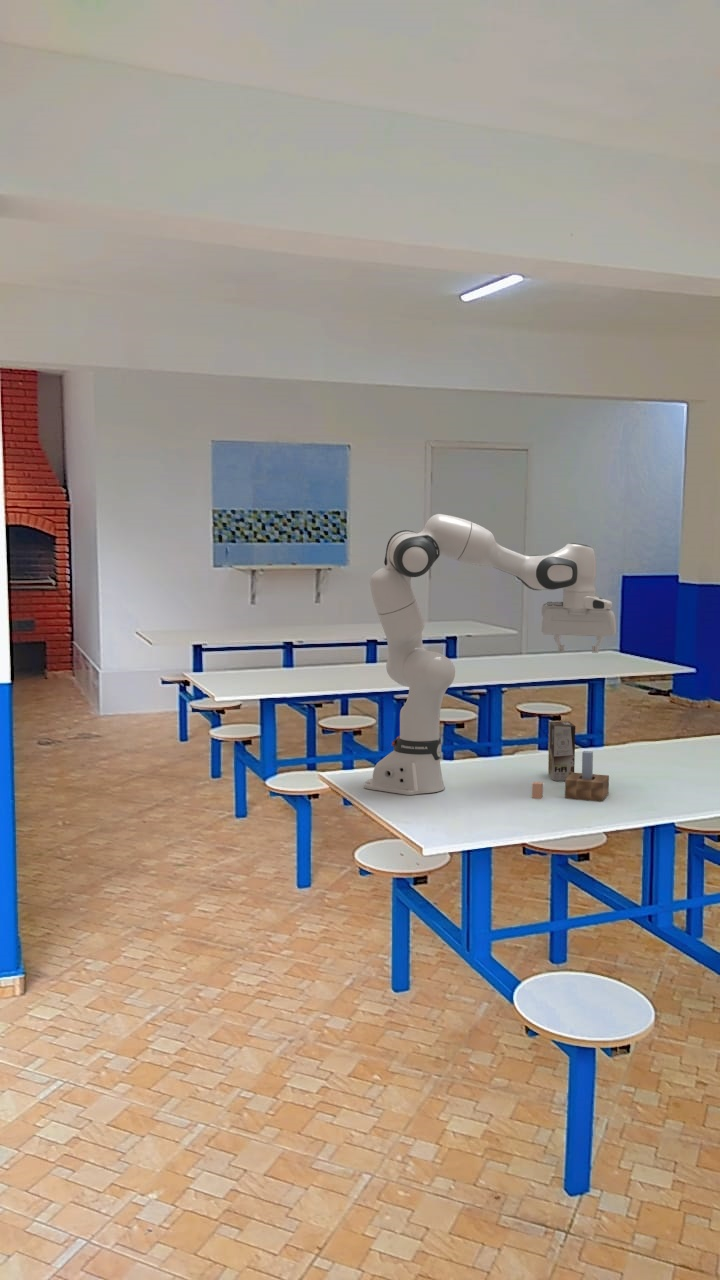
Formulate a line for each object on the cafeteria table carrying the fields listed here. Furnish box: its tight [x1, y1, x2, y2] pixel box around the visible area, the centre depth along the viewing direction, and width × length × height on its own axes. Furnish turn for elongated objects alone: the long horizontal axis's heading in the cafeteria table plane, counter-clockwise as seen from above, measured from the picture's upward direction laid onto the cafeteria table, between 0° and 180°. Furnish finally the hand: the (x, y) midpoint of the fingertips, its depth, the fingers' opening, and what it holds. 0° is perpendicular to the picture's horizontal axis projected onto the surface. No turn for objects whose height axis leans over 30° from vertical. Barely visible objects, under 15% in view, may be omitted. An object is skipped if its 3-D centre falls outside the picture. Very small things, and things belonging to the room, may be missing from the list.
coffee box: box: [547, 721, 576, 782], centre depth 295 cm, size 9×6×16 cm
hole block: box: [564, 772, 610, 803], centre depth 273 cm, size 10×10×5 cm
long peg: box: [581, 750, 594, 780], centre depth 273 cm, size 2×2×12 cm
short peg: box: [531, 781, 544, 800], centre depth 271 cm, size 2×2×4 cm
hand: (578, 651), depth 280 cm, fingers open, 8 cm apart
